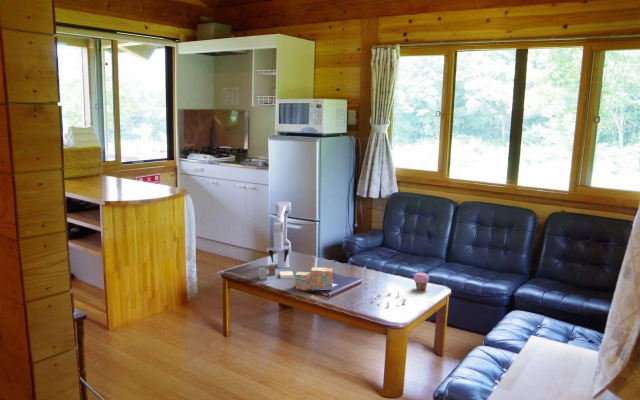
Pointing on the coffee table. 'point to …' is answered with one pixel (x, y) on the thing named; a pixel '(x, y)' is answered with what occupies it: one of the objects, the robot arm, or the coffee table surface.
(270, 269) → the walnut block
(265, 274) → the grey rectangular block
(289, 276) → the cream slab
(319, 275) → the stack of blocks
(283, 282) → the coffee table surface
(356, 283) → the coffee table surface
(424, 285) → the cupcake
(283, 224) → the robot arm
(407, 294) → the coffee table surface
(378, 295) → the game piece set
